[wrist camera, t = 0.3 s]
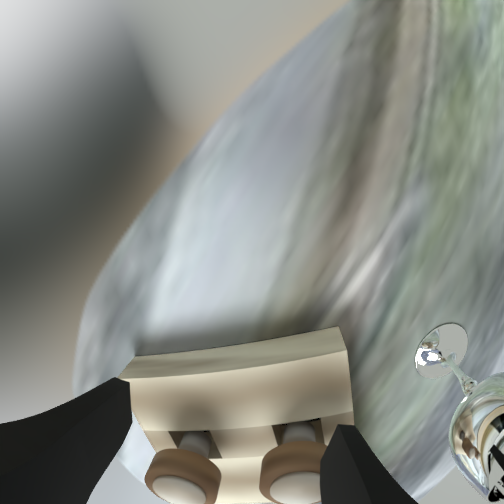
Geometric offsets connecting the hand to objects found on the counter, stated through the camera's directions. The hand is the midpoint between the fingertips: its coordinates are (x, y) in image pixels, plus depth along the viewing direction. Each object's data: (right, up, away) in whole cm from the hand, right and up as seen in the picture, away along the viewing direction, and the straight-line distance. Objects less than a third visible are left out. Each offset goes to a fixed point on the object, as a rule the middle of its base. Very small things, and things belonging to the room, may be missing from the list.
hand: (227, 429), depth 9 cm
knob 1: (-3, -7, +9) cm, 12 cm away
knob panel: (+1, -7, +11) cm, 13 cm away
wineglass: (+14, -1, +9) cm, 17 cm away
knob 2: (+4, -6, +8) cm, 11 cm away
